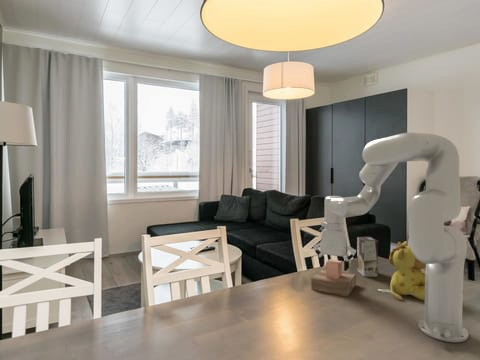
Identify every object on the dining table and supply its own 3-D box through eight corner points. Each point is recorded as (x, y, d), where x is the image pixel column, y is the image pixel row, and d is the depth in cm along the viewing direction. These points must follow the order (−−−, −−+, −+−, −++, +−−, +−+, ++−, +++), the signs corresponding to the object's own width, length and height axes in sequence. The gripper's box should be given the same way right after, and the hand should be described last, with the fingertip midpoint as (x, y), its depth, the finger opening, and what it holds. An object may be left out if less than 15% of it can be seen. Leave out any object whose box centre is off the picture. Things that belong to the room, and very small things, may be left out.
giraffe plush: (457, 304, 115) (458, 251, 114) (389, 303, 117) (389, 250, 116) (427, 283, 136) (428, 237, 135) (369, 282, 137) (370, 237, 136)
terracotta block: (338, 279, 129) (338, 264, 128) (325, 276, 131) (325, 262, 131) (341, 275, 133) (341, 261, 132) (329, 273, 136) (329, 259, 135)
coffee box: (378, 276, 143) (378, 240, 143) (363, 277, 143) (364, 241, 143) (370, 270, 152) (370, 236, 152) (356, 270, 153) (356, 236, 152)
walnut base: (346, 296, 123) (346, 284, 122) (311, 289, 130) (311, 278, 130) (355, 284, 134) (355, 274, 134) (322, 278, 142) (322, 268, 142)
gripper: (310, 226, 133) (310, 267, 133) (353, 230, 123) (353, 274, 124) (316, 223, 139) (316, 262, 140) (358, 226, 129) (358, 269, 130)
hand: (334, 268), depth 132 cm, fingers open, 9 cm apart
